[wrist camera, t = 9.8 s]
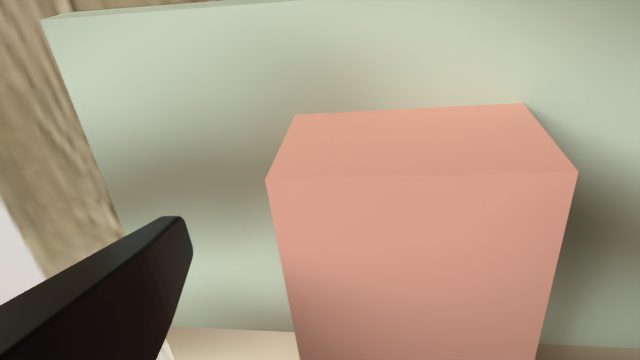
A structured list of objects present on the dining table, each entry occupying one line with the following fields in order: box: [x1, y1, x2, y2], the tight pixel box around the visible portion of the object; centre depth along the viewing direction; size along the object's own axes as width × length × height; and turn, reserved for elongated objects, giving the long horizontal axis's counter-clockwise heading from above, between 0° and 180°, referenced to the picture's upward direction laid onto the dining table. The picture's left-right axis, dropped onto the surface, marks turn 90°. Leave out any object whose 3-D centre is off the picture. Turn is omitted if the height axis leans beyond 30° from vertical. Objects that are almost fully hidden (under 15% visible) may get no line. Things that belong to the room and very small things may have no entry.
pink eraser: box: [265, 103, 578, 360], centre depth 11 cm, size 10×5×3 cm, turn 6°
